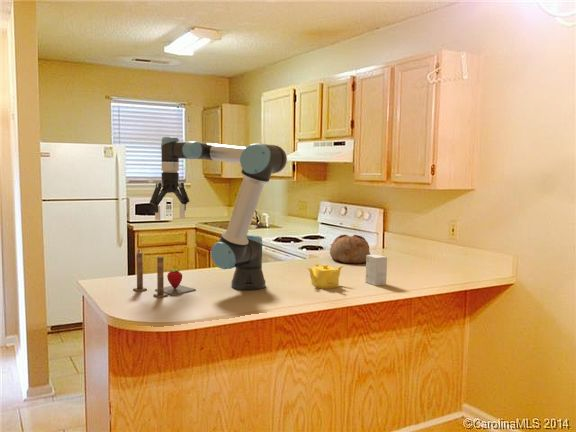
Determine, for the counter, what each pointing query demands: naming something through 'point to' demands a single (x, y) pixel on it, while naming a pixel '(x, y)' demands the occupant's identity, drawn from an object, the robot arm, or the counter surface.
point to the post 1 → (139, 273)
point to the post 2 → (160, 279)
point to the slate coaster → (177, 290)
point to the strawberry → (174, 278)
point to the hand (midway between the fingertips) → (170, 219)
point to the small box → (376, 269)
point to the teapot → (325, 276)
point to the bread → (350, 249)
